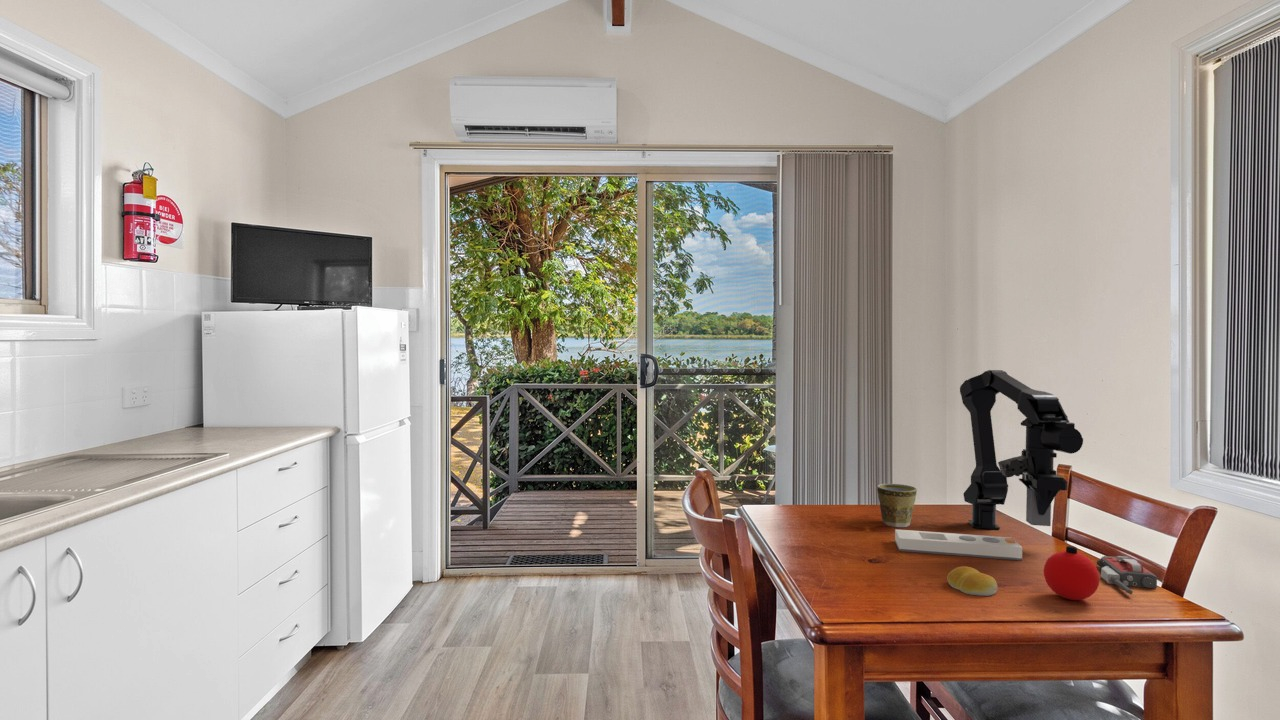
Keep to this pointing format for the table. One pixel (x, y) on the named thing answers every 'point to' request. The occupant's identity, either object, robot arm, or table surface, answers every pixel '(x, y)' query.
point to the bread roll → (972, 581)
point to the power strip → (958, 544)
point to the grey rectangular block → (1036, 511)
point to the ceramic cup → (896, 503)
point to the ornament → (1071, 574)
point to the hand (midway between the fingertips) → (1038, 512)
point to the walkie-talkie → (1126, 573)
